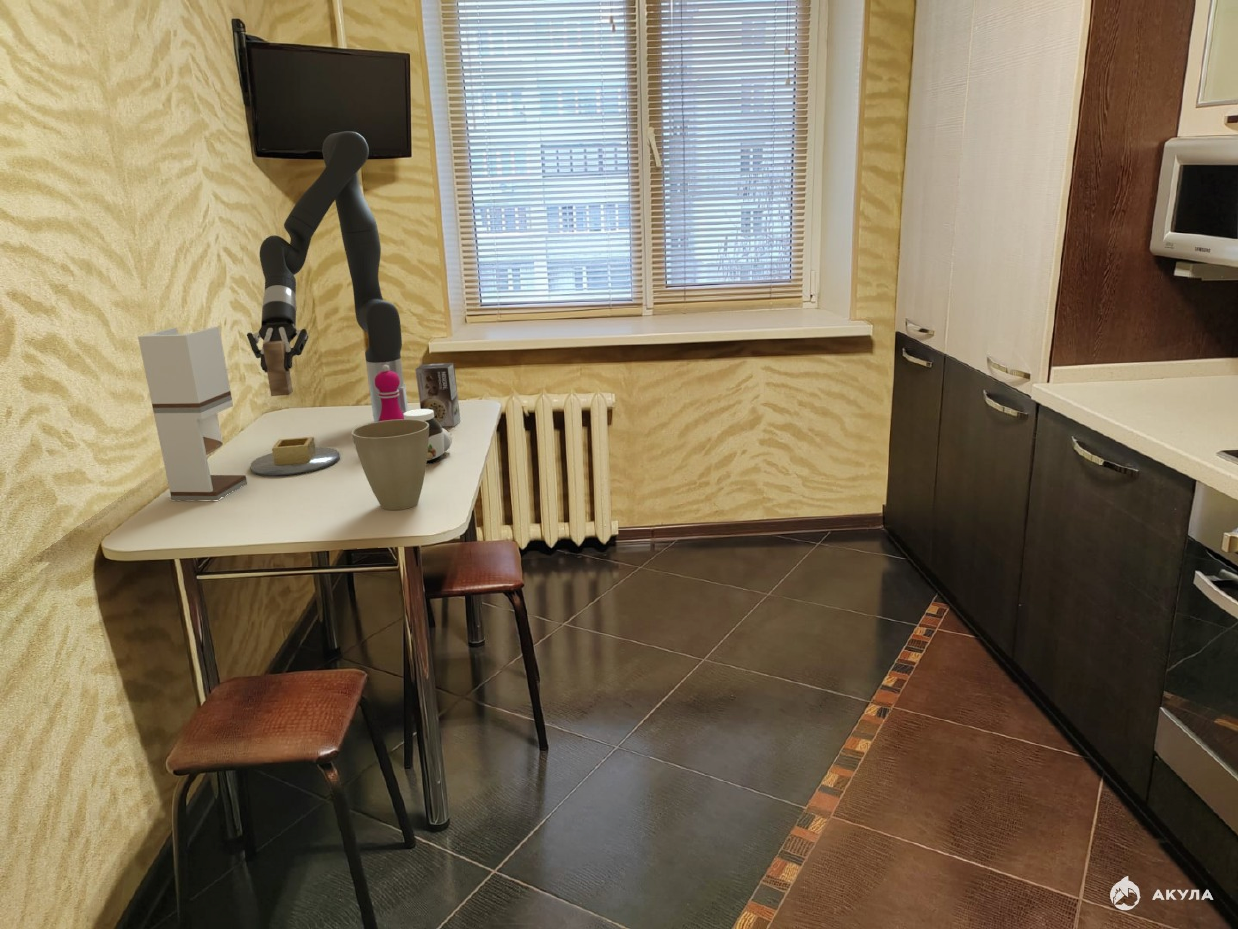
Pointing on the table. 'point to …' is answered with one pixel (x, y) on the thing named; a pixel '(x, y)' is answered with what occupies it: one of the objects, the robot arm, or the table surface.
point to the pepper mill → (388, 394)
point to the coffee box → (439, 392)
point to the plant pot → (394, 459)
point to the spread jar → (432, 433)
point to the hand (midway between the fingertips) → (276, 369)
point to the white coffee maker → (189, 408)
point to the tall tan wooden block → (277, 368)
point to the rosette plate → (295, 458)
